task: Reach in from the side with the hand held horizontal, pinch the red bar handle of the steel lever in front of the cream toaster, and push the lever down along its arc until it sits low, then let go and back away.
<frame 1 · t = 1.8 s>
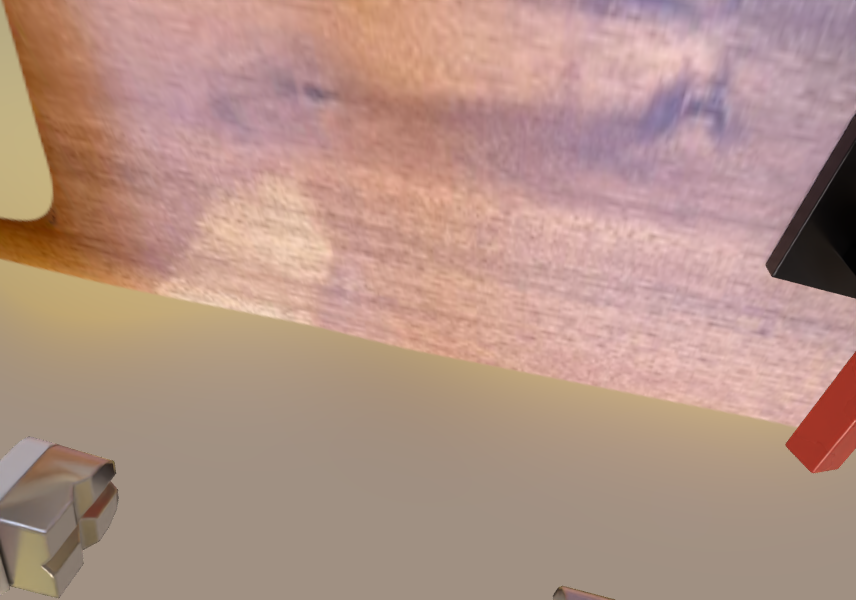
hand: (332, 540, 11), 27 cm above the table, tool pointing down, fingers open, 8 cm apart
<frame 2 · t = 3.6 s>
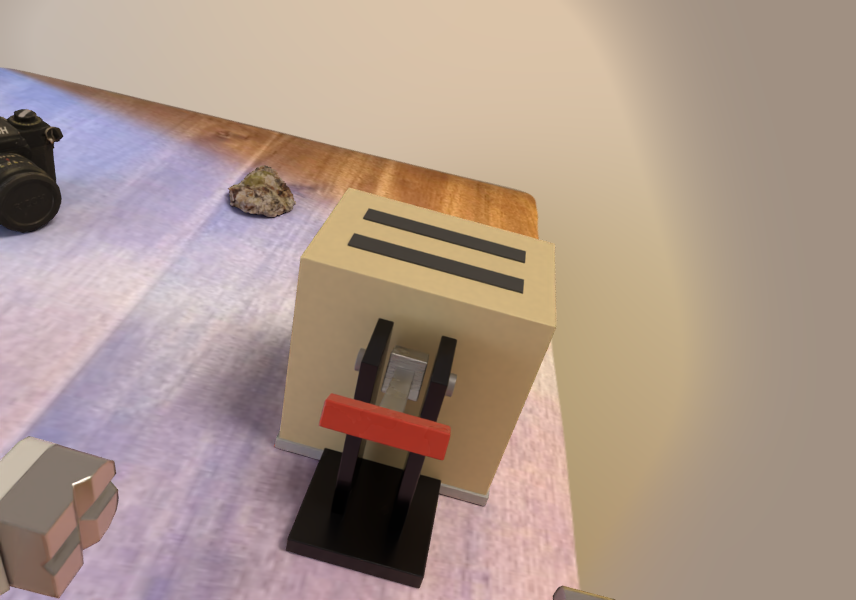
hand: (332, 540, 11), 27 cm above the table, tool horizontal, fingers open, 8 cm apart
film camera: (0, 213, 64), on the table
bracket: (370, 507, 45), on the table
lever: (398, 392, 32), point 15 cm above the table, hinge at 28.0°
toaster: (415, 344, 47), on the table
mineral rock: (262, 201, 78), on the table
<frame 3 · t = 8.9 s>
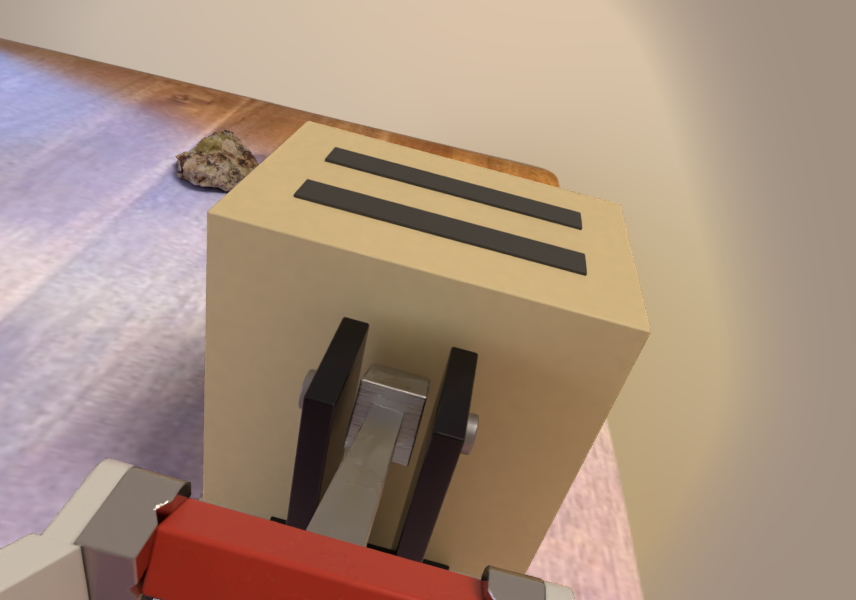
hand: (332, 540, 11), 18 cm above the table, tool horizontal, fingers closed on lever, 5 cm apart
lever: (368, 463, 16), point 15 cm above the table, hinge at 28.0°, touching gripper
toaster: (410, 358, 31), on the table
mineral rock: (221, 173, 62), on the table
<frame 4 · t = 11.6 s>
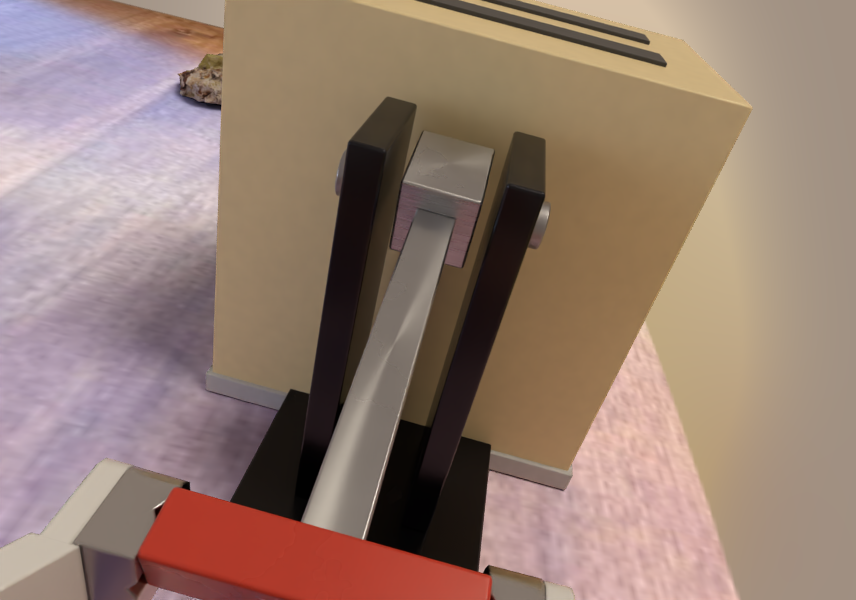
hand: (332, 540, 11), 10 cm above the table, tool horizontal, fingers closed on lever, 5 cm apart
bracket: (369, 490, 25), on the table
lever: (402, 323, 14), point 12 cm above the table, hinge at -11.4°, touching gripper
toaster: (446, 214, 27), on the table
mineral rock: (226, 95, 59), on the table
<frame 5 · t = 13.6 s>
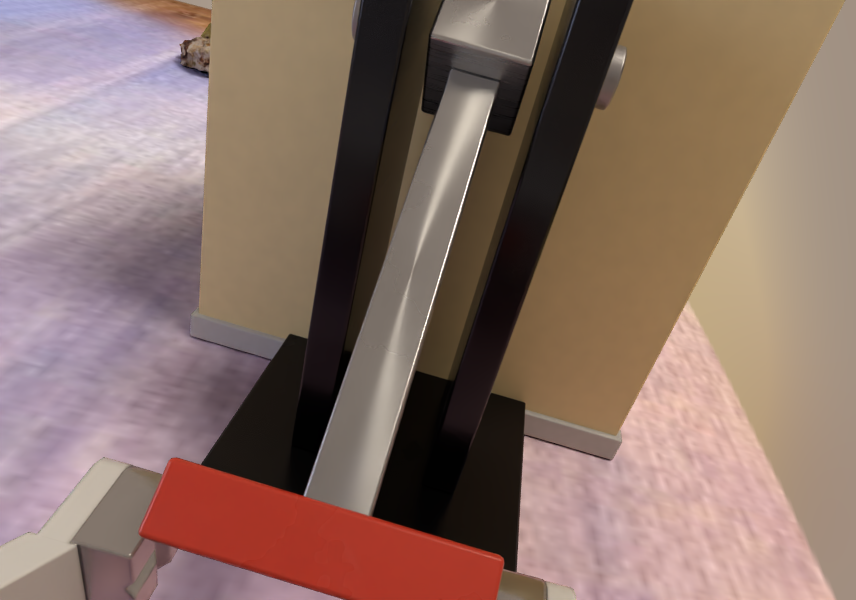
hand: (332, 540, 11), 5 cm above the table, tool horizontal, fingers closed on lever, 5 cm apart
bracket: (380, 450, 21), on the table
lever: (426, 233, 12), point 10 cm above the table, hinge at -36.3°, touching gripper
toaster: (474, 135, 24), on the table
mineral rock: (229, 69, 56), on the table
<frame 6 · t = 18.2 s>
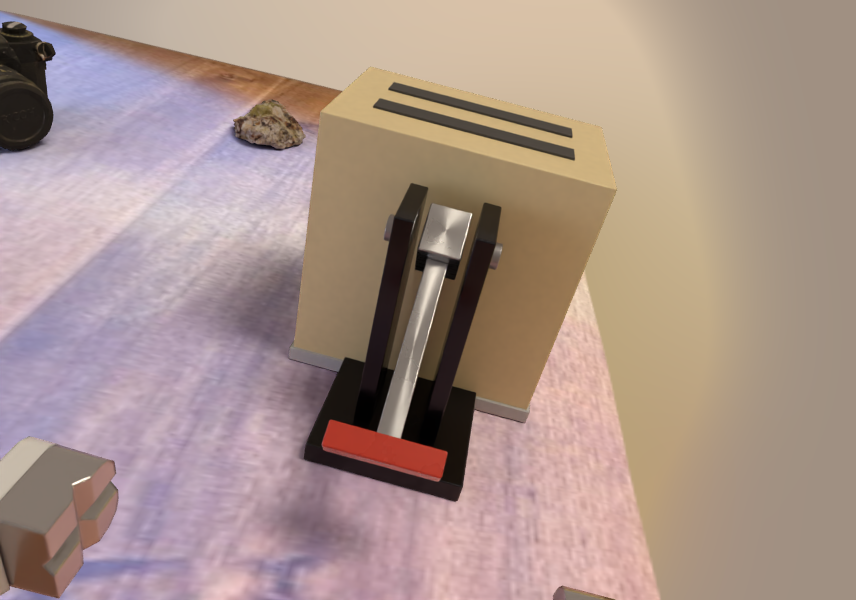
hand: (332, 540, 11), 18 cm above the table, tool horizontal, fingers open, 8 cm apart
bracket: (397, 419, 39), on the table
lever: (418, 331, 30), point 10 cm above the table, hinge at -32.6°
toaster: (446, 242, 42), on the table
mineral rock: (270, 135, 73), on the table
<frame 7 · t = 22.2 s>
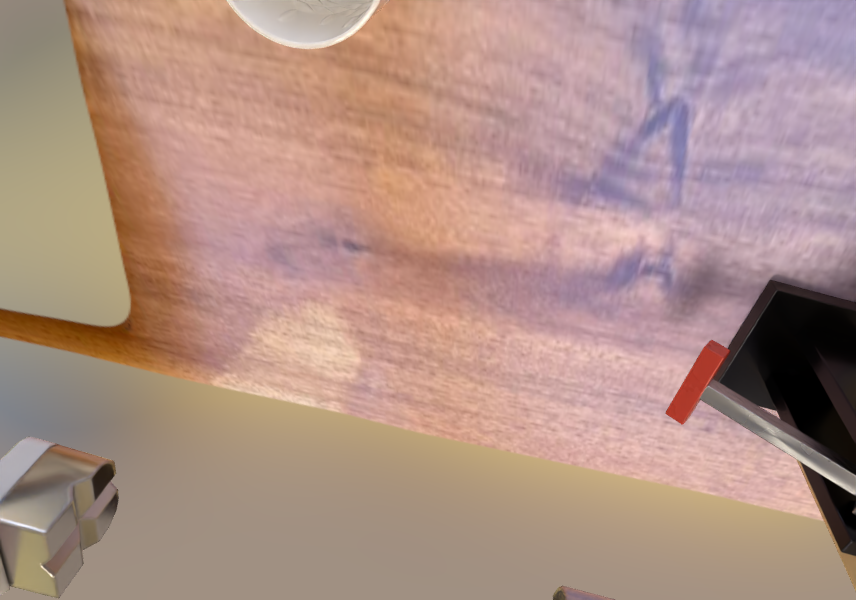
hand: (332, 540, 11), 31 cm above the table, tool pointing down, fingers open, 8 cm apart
bracket: (807, 352, 43), on the table
lever: (796, 444, 34), point 10 cm above the table, hinge at -32.6°
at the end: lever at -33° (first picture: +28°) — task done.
